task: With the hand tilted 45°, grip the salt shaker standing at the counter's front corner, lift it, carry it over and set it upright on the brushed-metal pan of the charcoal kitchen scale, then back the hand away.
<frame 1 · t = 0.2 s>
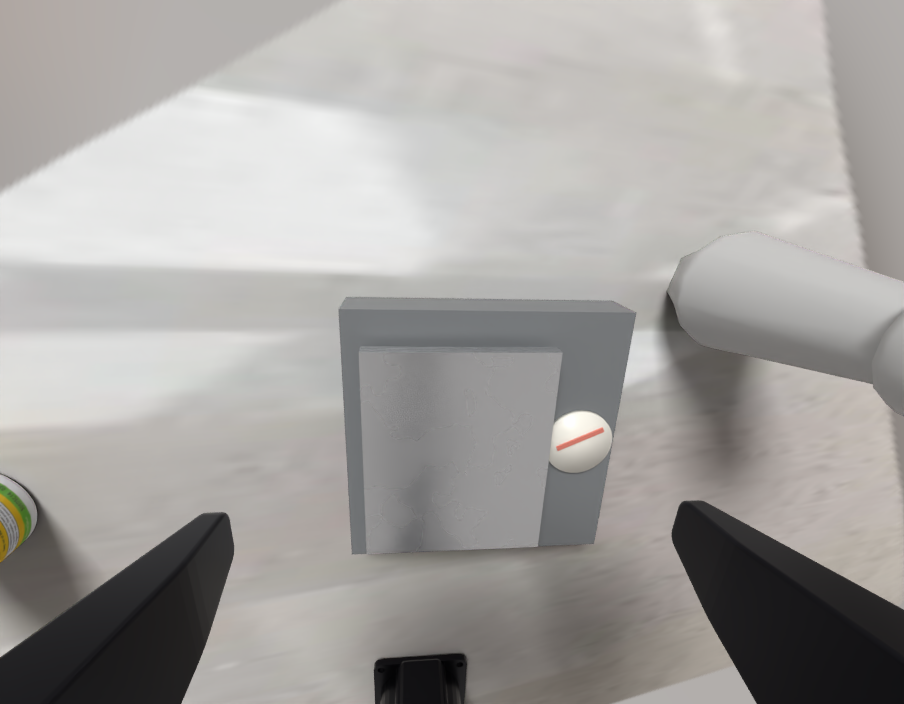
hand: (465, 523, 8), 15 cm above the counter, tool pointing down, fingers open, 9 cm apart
scale: (476, 419, 24), on the counter
scale pan: (457, 455, 21), point 4 cm above the counter, slide at 0.2 cm
salt shaker: (702, 283, 23), on the counter
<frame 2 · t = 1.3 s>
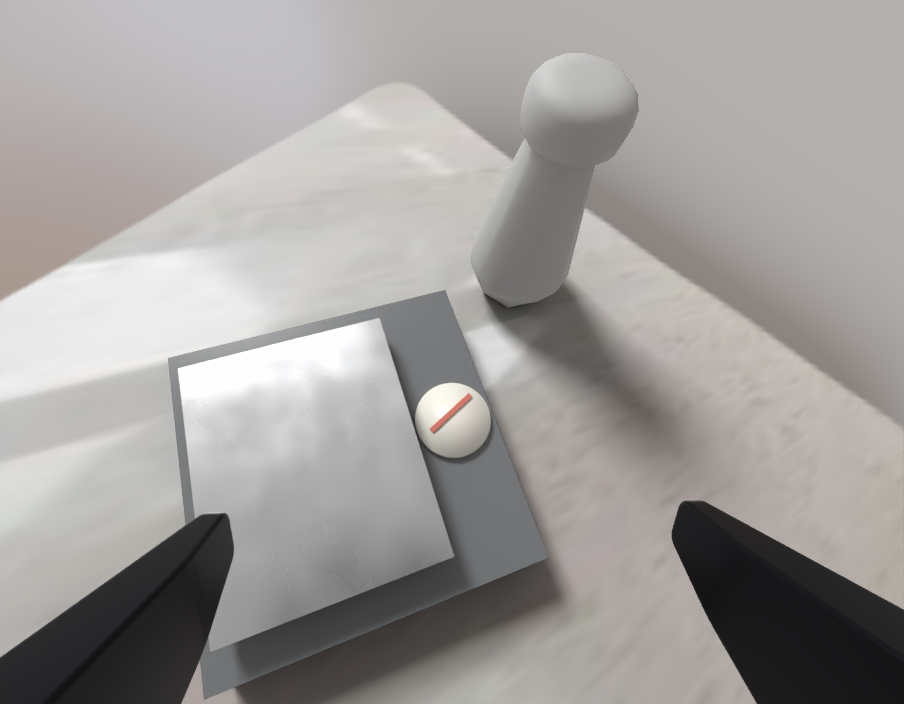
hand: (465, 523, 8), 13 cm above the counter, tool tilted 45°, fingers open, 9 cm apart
scale: (355, 462, 22), on the counter
scale pan: (310, 459, 18), point 4 cm above the counter, slide at 0.2 cm
salt shaker: (510, 281, 27), on the counter
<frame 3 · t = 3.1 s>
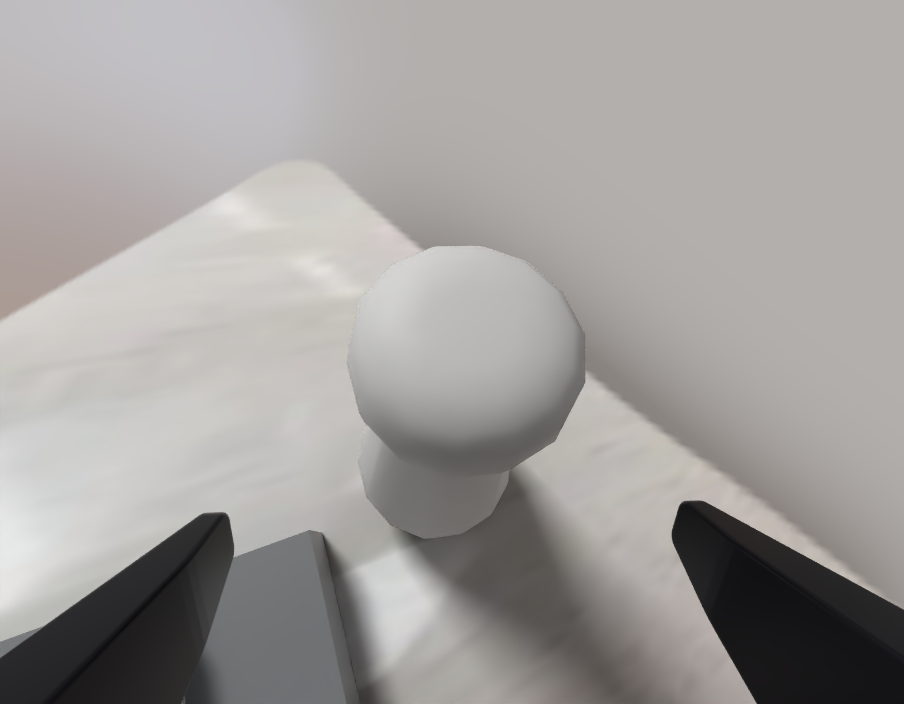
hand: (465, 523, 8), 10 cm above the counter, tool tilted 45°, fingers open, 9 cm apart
salt shaker: (431, 467, 19), on the counter
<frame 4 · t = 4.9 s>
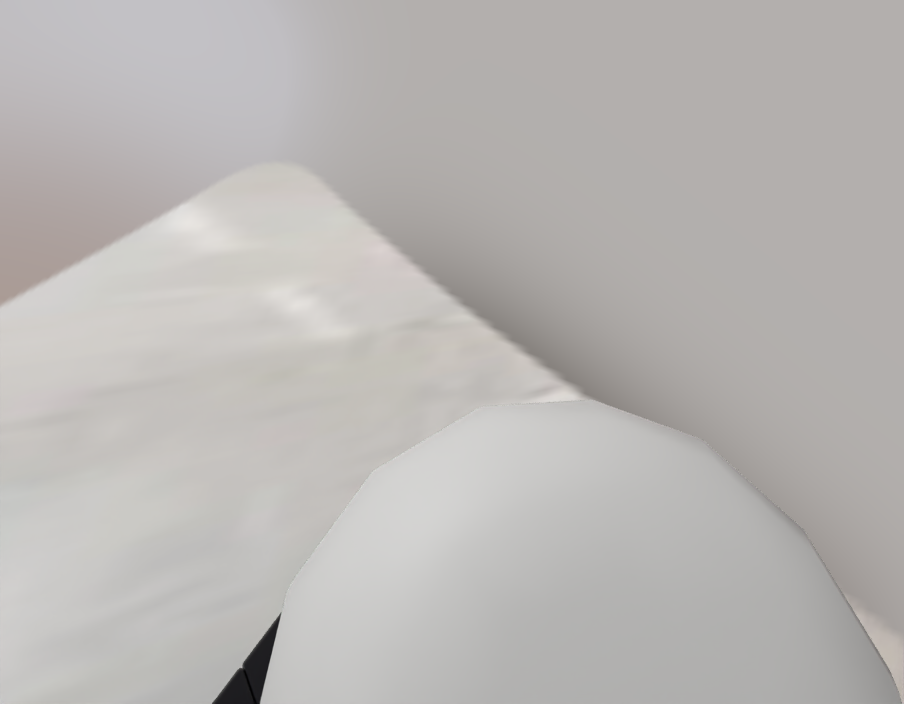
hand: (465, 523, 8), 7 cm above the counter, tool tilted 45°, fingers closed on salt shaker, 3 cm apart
salt shaker: (441, 578, 14), on the counter, touching gripper
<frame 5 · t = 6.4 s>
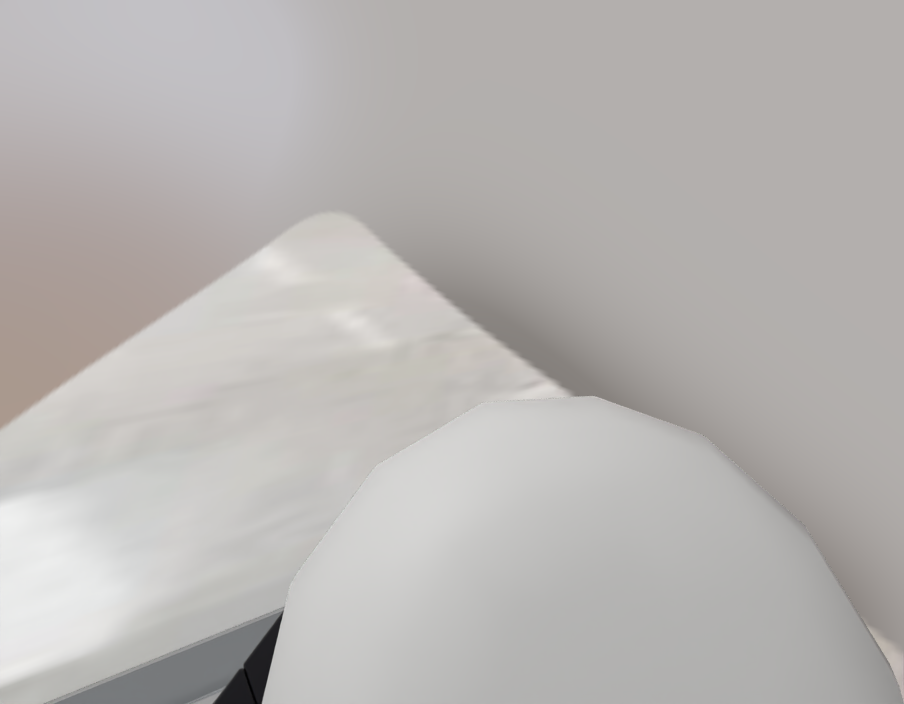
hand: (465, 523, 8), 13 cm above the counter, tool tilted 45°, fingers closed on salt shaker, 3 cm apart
salt shaker: (442, 575, 14), point 6 cm above the counter, touching gripper
when the fingers open (12 cm above the counter, at t = 7.9 s): salt shaker drops 2 cm, resting on scale pan.
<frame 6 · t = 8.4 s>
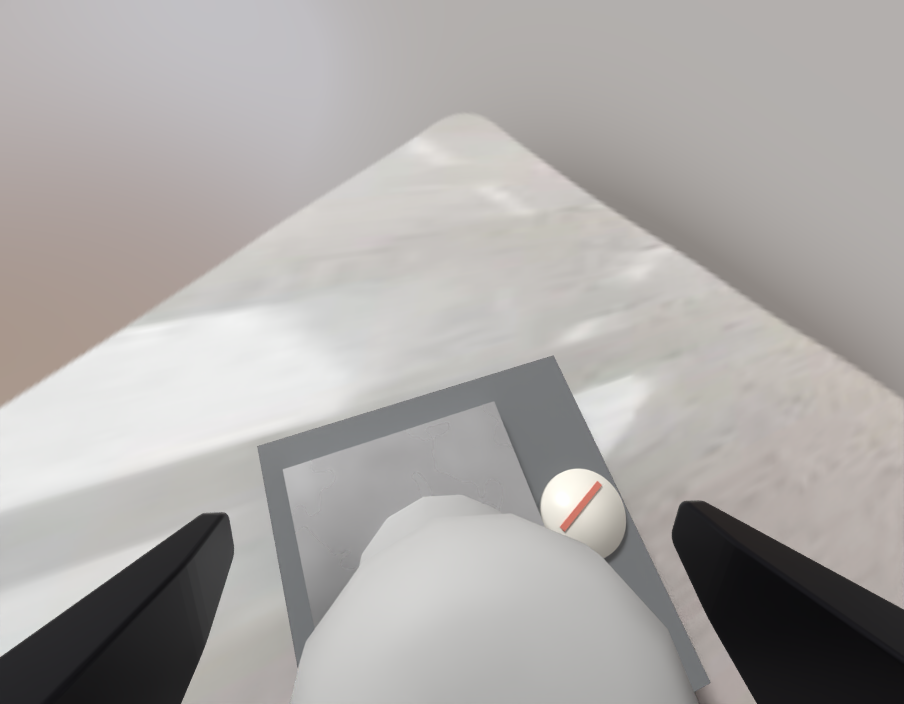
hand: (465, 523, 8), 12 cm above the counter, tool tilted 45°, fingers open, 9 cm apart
scale: (463, 556, 19), on the counter
scale pan: (436, 573, 16), point 3 cm above the counter, slide at 0.8 cm, touching salt shaker
salt shaker: (443, 581, 16), point 3 cm above the counter, touching scale pan
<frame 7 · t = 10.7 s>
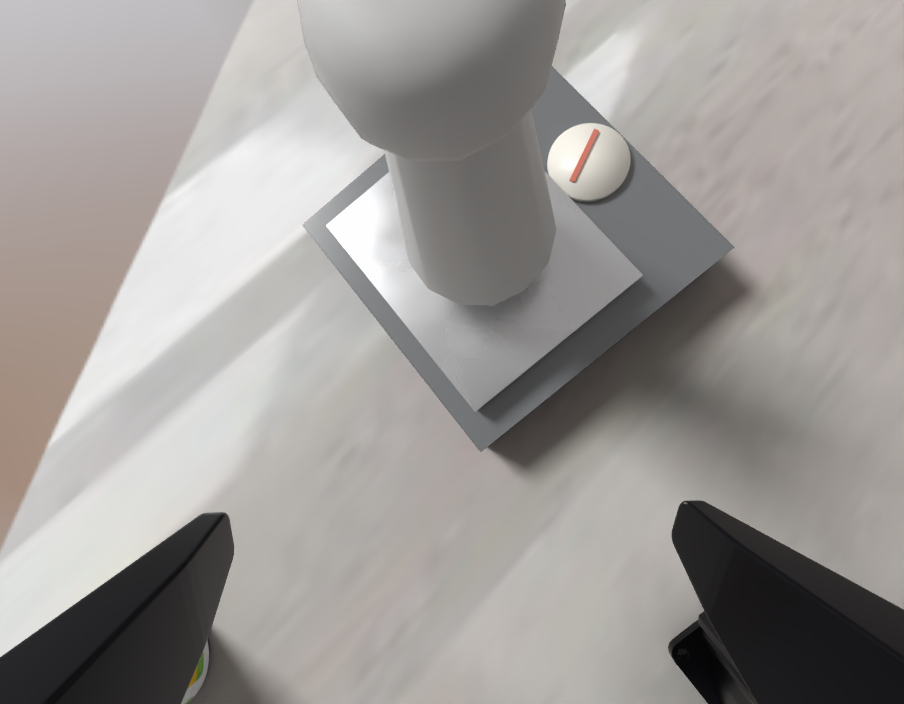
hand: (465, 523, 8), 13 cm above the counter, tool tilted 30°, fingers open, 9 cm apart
scale: (503, 253, 22), on the counter
supplement bottle: (169, 650, 23), on the counter
scale pan: (476, 251, 19), point 3 cm above the counter, slide at 0.8 cm, touching salt shaker
salt shaker: (482, 253, 19), point 3 cm above the counter, touching scale pan
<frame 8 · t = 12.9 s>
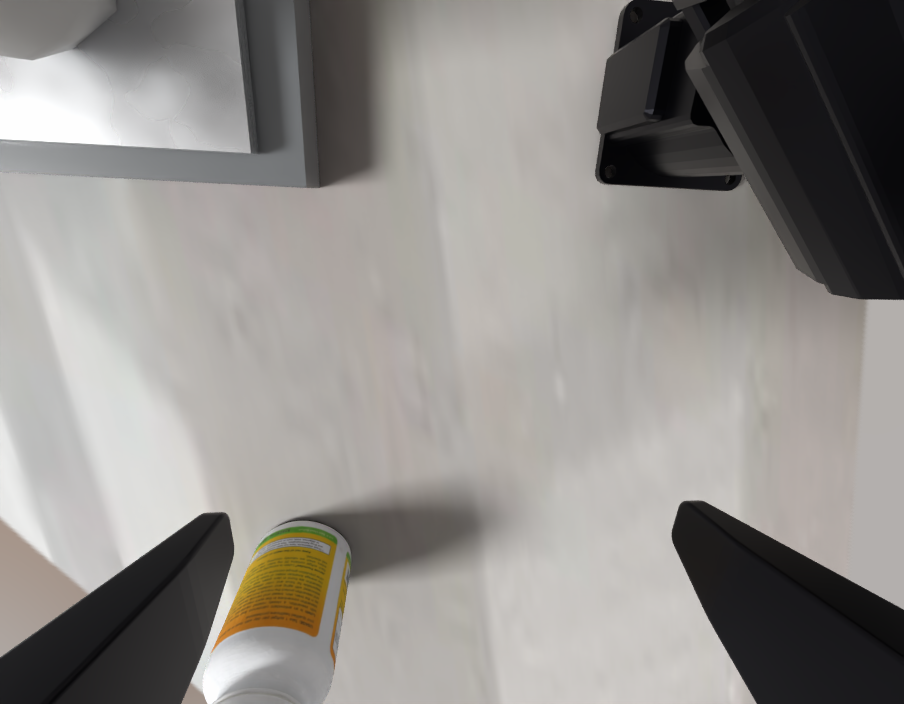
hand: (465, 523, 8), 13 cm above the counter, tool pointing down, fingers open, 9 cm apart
supplement bottle: (306, 551, 25), on the counter
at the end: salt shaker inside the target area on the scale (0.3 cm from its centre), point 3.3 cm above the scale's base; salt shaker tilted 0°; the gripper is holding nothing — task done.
